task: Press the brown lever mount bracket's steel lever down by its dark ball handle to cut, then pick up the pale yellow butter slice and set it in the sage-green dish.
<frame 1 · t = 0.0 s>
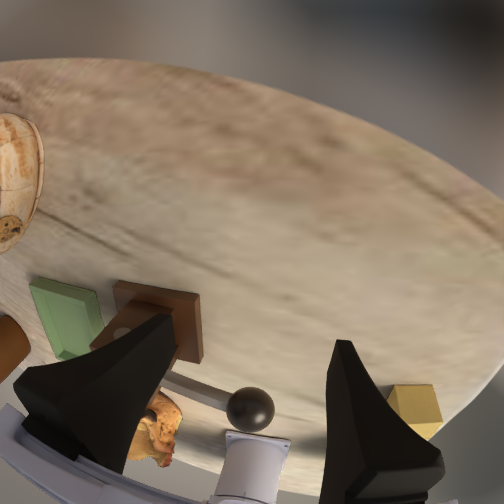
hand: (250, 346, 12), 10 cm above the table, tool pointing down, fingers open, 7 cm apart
trinket box: (15, 179, 24), on the table
butter dish: (76, 325, 30), on the table
brown lever mount bracket: (160, 319, 26), on the table
butter slice: (408, 394, 25), on the table
bone: (153, 403, 33), on the table
mug: (13, 322, 35), on the table
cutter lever: (185, 386, 19), point 7 cm above the table, hinge at 10.0°
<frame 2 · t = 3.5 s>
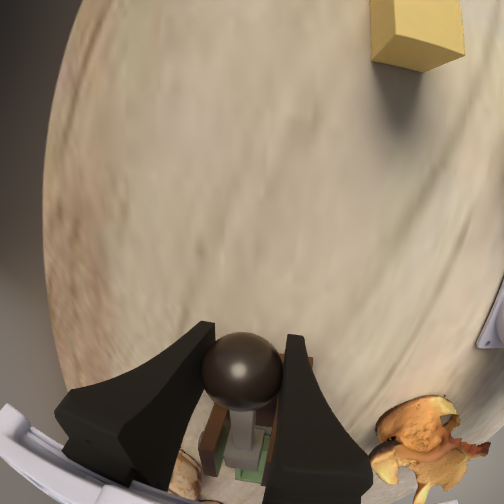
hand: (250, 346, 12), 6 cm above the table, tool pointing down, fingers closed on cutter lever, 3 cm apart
trinket box: (153, 446, 32), on the table
butter dish: (290, 458, 26), on the table
brown lever mount bracket: (260, 386, 22), on the table
butter slice: (397, 30, 11), on the table
bone: (413, 419, 21), on the table
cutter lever: (243, 421, 14), point 7 cm above the table, hinge at 10.0°, touching gripper
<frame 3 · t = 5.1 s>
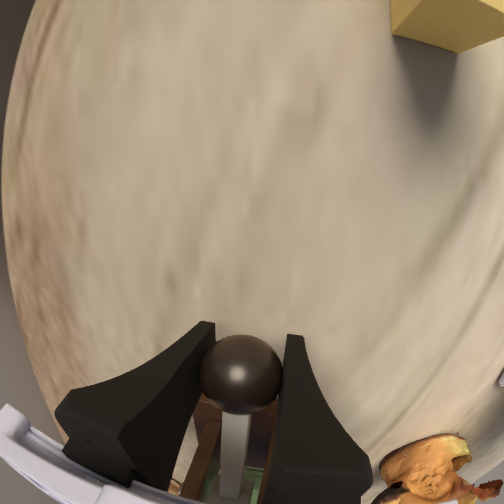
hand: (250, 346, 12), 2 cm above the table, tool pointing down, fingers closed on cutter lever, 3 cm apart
butter dish: (285, 490, 22), on the table
brown lever mount bracket: (249, 429, 18), on the table
bone: (421, 456, 17), on the table
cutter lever: (234, 454, 12), point 5 cm above the table, hinge at -13.9°, touching gripper
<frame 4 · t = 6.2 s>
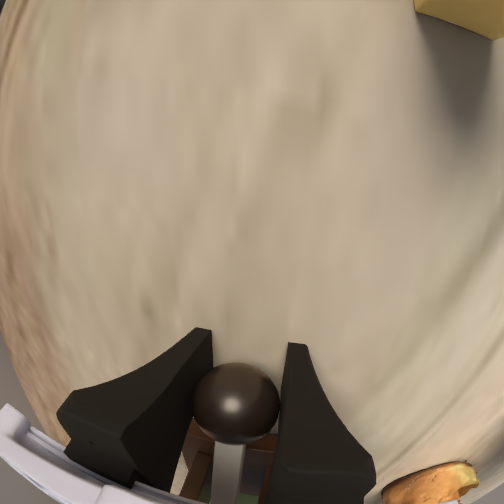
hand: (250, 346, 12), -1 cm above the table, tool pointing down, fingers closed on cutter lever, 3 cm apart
brown lever mount bracket: (243, 459, 16), on the table
bone: (426, 481, 15), on the table
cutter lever: (225, 488, 10), point 4 cm above the table, hinge at -22.6°, touching gripper
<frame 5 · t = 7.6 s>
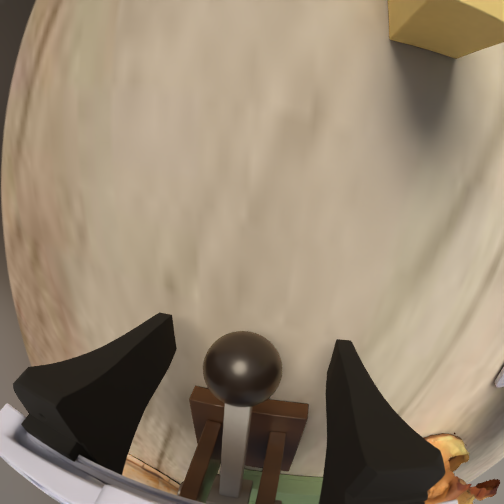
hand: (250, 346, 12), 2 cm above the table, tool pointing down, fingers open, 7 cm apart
trinket box: (140, 471, 28), on the table
butter dish: (283, 490, 23), on the table
brown lever mount bracket: (248, 429, 18), on the table
butter slice: (421, 3, 7), on the table
bone: (418, 455, 18), on the table
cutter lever: (234, 450, 12), point 4 cm above the table, hinge at -17.3°
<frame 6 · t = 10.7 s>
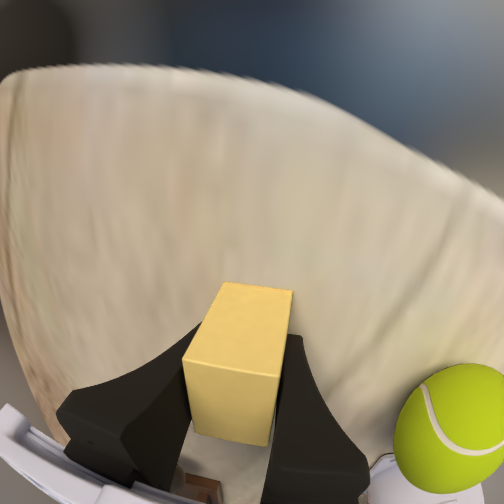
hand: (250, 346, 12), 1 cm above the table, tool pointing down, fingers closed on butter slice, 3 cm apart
brown lever mount bracket: (190, 485, 25), on the table
butter slice: (255, 326, 14), on the table, touching gripper
tennis ball: (442, 380, 13), on the table
when the fingers open (2 cm above the table, at t = 17.3 s): butter slice stays where it is, resting on butter dish.
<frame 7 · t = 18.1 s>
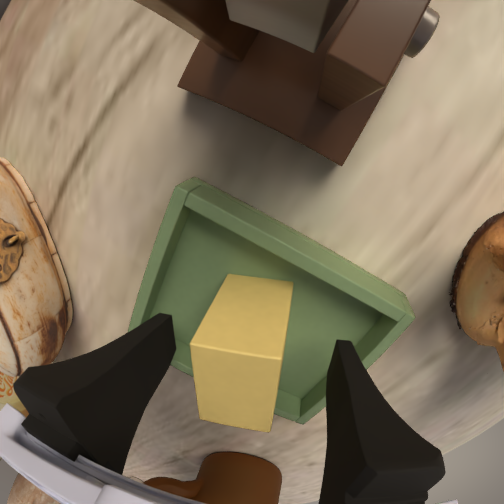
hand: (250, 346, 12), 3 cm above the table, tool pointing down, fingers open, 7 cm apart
trinket box: (19, 246, 17), on the table
butter dish: (260, 312, 15), on the table
brown lever mount bracket: (306, 40, 10), on the table
coffee box: (28, 353, 23), on the table
butter slice: (257, 317, 14), resting on butter dish
mug: (223, 457, 23), on the table
sculpture: (79, 421, 27), on the table
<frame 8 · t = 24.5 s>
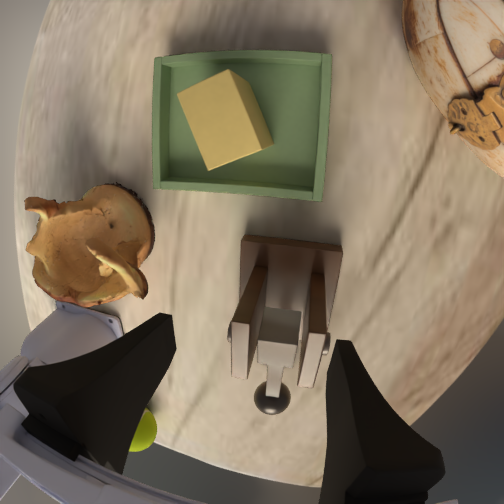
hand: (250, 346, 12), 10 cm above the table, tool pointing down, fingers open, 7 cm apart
trinket box: (480, 80, 14), on the table
butter dish: (241, 121, 19), on the table
brown lever mount bracket: (287, 288, 23), on the table
butter slice: (240, 120, 18), resting on butter dish
bone: (117, 225, 24), on the table
tennis ball: (141, 406, 35), on the table
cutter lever: (275, 374, 21), point 4 cm above the table, hinge at -17.3°
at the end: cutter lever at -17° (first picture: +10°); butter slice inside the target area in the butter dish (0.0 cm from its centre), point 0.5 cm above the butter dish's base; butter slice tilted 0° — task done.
